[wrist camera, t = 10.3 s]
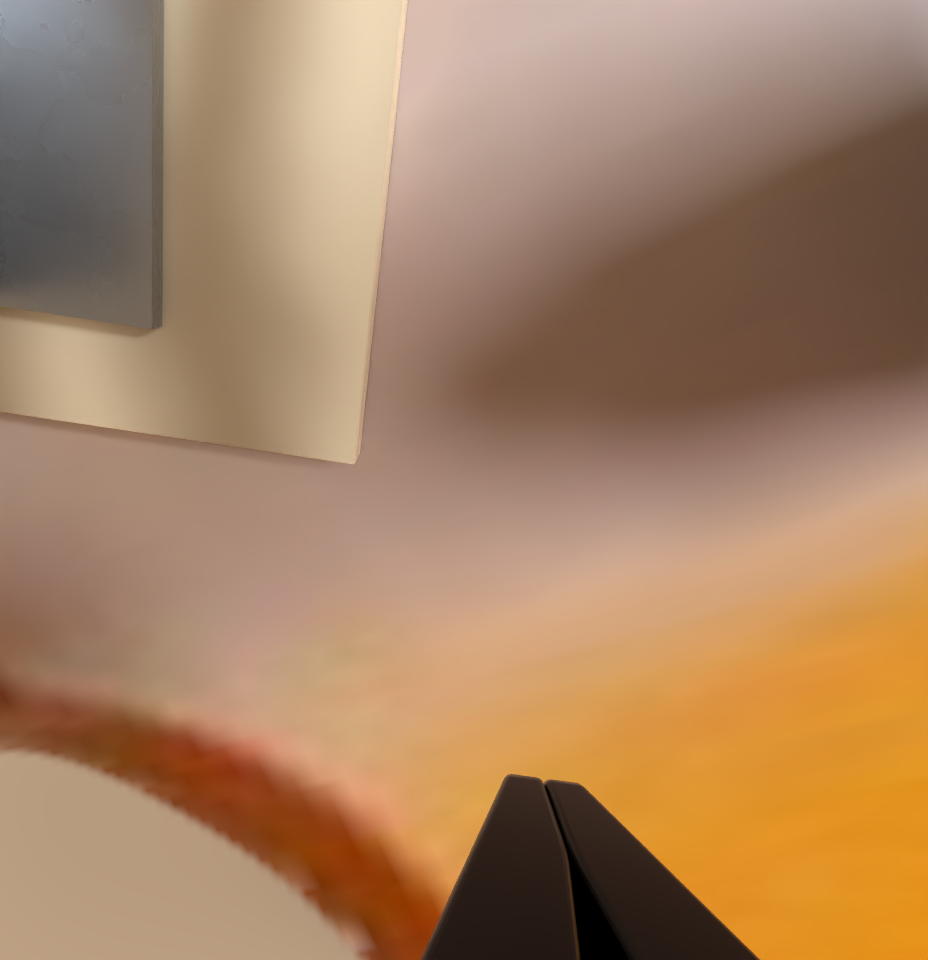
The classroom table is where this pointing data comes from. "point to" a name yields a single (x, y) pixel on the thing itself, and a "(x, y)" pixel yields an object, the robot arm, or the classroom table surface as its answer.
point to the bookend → (82, 158)
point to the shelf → (246, 240)
